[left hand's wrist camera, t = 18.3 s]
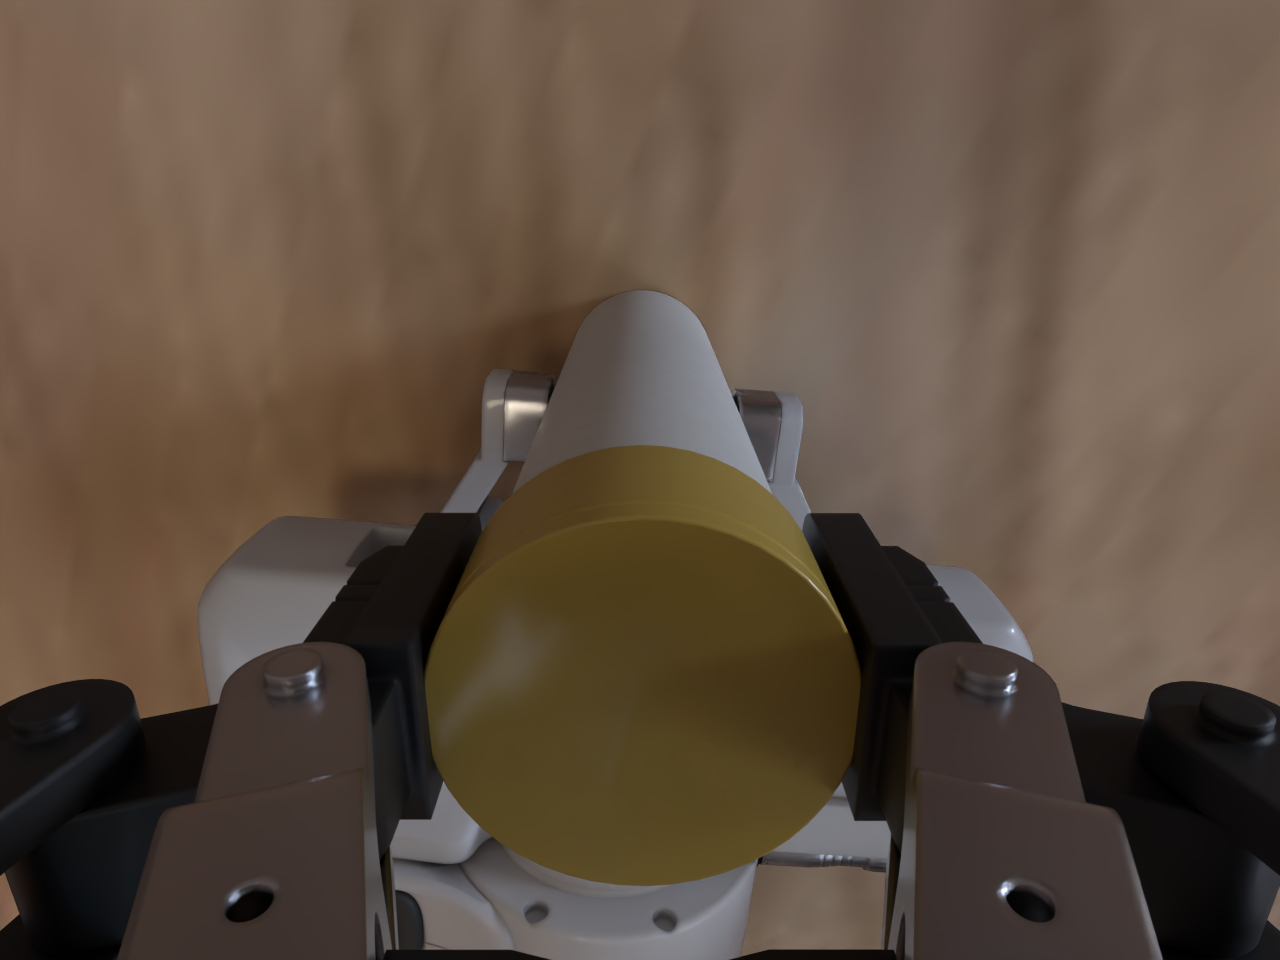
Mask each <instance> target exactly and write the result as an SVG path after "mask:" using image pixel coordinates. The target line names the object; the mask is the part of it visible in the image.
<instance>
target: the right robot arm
mask: <svg viewBox="0 0 1280 960" xmlns="http://www.w3.org/2000/svg"><path fill="white" fill-rule="evenodd" d="M554 388H555V375H554V374H545V373H535V372H525V371H515V370H508V369H493V370H492V371H491V372H490V374H489V375H488V376H487V378H486V379H485V384H484V390H483V397H482V432H481V449H480V450H479V452H478V454H477V455H476V457H475V458H474V460H473V461H472V463H471V464H470V466H469V467H468V469H467V470H466V472H465V474H464V475H463V477H462V478H461V480H460V481H459V483H458V484H457V486H456V487H455V489H454V490H453V492H452V494H451V495H450V497H449V499H448V500H447V502H446V504H445V505H444V507H443V509H442V510H441V512H440V513H477V514H478V515H479V517H480V521H481V526H482V531H483V530H484V528H485V527H486V525H487V524H488V522H489V520H490V519H491V517H492V516H493V515H494V514H495V512H496V511H497V510H498V509H499V508H500V507H501V505H502V504H503V503H504V501H503V500H502V499H501V498H494V497H487V495H488V494H489V492H490V491H491V489H492V488H493V486H494V485H495V483H496V482H497V480H498V478H499V477H500V475H501V474H502V472H503V471H504V469H505V468H506V466H507V465H508V463H509V461H517V462H525V460H526V458H527V455H528V453H529V450H530V448H531V445H532V443H533V440H534V438H535V435H536V433H537V430H538V428H539V425H540V423H541V421H542V418H543V416H544V413H545V411H546V408H547V406H548V403H549V401H550V398H551V396H552V393H553V391H554ZM732 397H733V400H734V402H735V405H736V407H737V409H738V412H739V414H740V417H741V419H742V422H743V424H744V426H745V429H746V431H747V434H748V436H749V439H750V441H751V443H752V446H753V448H754V451H755V453H756V456H757V458H758V460H759V463H760V465H761V468H762V470H763V473H764V475H765V477H766V480H767V482H768V485H769V487H770V490H771V492H772V494H773V495H774V496H775V497H776V498H777V499H778V501H779V502H780V503H781V504H782V505H783V506H784V507H785V508H786V509H787V511H788V512H789V513H790V514H791V516H792V517H793V519H794V520H795V521H796V523H797V524H798V526H799V527H800V529H801V530H802V528H803V522H804V519H805V516H806V514H807V513H811V512H810V509H809V507H808V504H807V502H806V500H805V497H804V495H803V493H802V490H801V488H800V486H799V483H798V482H797V480H796V478H795V472H796V466H797V460H798V453H799V447H800V441H801V434H802V428H803V407H802V404H801V402H800V401H799V399H798V398H797V397H796V395H795V394H794V393H785V392H774V391H760V390H745V389H734V391H733V393H732ZM486 497H487V498H486ZM415 527H416V525H403V524H390V523H377V522H364V521H351V520H338V519H325V518H313V517H301V516H283V517H279V518H277V519H274V520H272V521H271V522H269V523H268V524H266V525H265V526H264V527H263V528H262V529H260V530H259V531H258V532H257V533H256V534H254V535H253V536H252V537H251V538H250V539H248V540H247V541H246V542H245V543H244V544H242V545H241V546H240V547H239V548H238V549H237V550H236V551H235V552H234V553H233V554H232V555H231V556H230V557H229V558H228V559H227V560H226V561H225V562H224V563H223V564H222V566H221V567H220V568H219V569H218V571H217V572H216V573H215V574H214V576H213V577H212V578H211V580H210V581H209V582H208V584H207V585H206V587H205V589H204V591H203V593H202V596H201V598H200V602H199V607H198V633H199V643H200V651H201V658H202V664H203V671H204V677H205V683H206V688H207V694H208V699H209V704H210V705H214V704H217V703H219V699H220V695H221V691H222V688H223V686H224V683H225V682H226V681H227V679H228V678H229V677H230V676H231V675H232V674H233V673H234V672H235V671H236V670H237V669H238V668H240V667H241V666H242V665H244V664H245V663H247V662H248V661H250V660H252V659H253V658H255V657H258V656H260V655H262V654H264V653H267V652H269V651H272V650H275V649H278V648H281V647H285V646H289V645H294V644H299V643H303V642H304V640H305V639H306V637H307V636H308V635H309V633H310V632H311V630H312V629H313V628H314V626H315V625H316V623H317V622H318V621H319V619H320V618H321V617H322V615H323V614H324V612H325V611H326V610H327V608H328V607H329V605H330V604H331V603H332V601H335V597H336V596H337V594H338V593H339V591H340V590H341V589H342V587H343V586H344V585H347V580H348V579H349V578H350V576H351V575H352V573H353V572H354V571H355V569H356V568H357V566H358V565H359V564H360V562H362V561H363V560H365V559H366V558H368V557H370V556H371V555H373V554H374V553H376V552H378V551H379V550H381V549H382V548H384V547H386V546H404V545H405V543H406V542H407V540H408V538H409V537H410V535H411V534H412V532H413V531H414V529H415ZM926 566H927V567H928V569H929V570H930V571H931V573H932V574H933V575H934V577H935V578H936V580H937V581H938V586H942V588H943V589H944V591H945V592H946V593H947V595H948V596H949V597H950V602H953V603H954V604H955V606H956V607H957V608H958V610H959V611H960V612H961V614H962V615H963V617H964V618H965V619H966V621H967V622H968V623H969V625H970V626H971V628H972V629H973V630H974V632H975V633H976V634H977V636H978V637H979V639H980V640H981V641H982V643H983V644H986V645H991V646H995V647H999V648H1002V649H1005V650H1008V651H1011V652H1013V653H1016V654H1018V655H1020V656H1022V657H1024V658H1027V659H1028V660H1030V661H1032V662H1033V656H1032V651H1031V649H1030V646H1029V644H1028V641H1027V640H1026V638H1025V636H1024V634H1023V632H1022V631H1021V629H1020V627H1019V626H1018V624H1017V623H1016V621H1015V620H1014V619H1013V617H1012V616H1011V614H1010V613H1009V611H1008V610H1007V609H1006V608H1005V606H1004V605H1003V604H1002V603H1001V601H1000V600H999V599H998V598H997V597H996V596H995V595H994V594H993V593H992V591H991V590H990V589H989V588H988V587H987V586H986V585H985V584H984V583H983V582H982V581H981V580H980V579H979V578H978V577H977V576H976V575H975V574H974V573H972V572H971V571H969V570H967V569H964V568H959V567H953V566H940V565H927V564H926ZM890 837H891V832H890V830H889V827H888V824H887V822H886V821H854V818H853V815H852V812H851V809H850V806H849V803H848V800H847V797H846V794H845V791H844V788H843V785H842V782H841V783H840V785H839V787H838V788H837V790H836V791H835V792H834V794H833V795H832V797H831V798H830V799H829V801H828V802H827V804H826V805H825V806H824V807H823V808H822V809H821V810H820V812H819V813H818V814H817V815H816V816H815V817H814V818H813V819H812V820H811V821H810V822H809V823H808V824H807V825H806V826H805V827H804V828H802V829H801V830H800V831H799V832H798V833H797V834H795V835H794V836H793V837H792V838H791V839H789V840H788V841H786V842H785V843H783V844H782V845H780V846H779V847H777V848H776V849H774V850H773V851H771V852H770V853H768V854H766V855H764V856H762V857H760V858H758V859H756V860H754V861H752V862H750V863H748V864H746V865H744V866H741V867H739V868H736V869H733V870H731V871H728V872H725V873H723V874H719V875H716V876H712V877H708V878H704V879H701V880H697V881H691V882H684V883H678V884H672V885H656V886H628V885H614V884H607V883H600V882H593V881H589V880H585V879H581V878H577V877H573V876H568V875H565V874H563V873H560V872H557V871H554V870H551V869H549V868H546V867H543V866H541V865H539V864H537V863H535V862H533V861H531V860H529V859H527V858H525V857H522V856H520V855H519V854H517V853H516V852H514V851H512V850H511V849H509V848H508V847H506V846H505V845H503V844H501V843H500V842H498V841H497V840H496V839H495V838H493V837H492V836H491V835H490V834H488V833H487V832H486V831H485V830H483V829H482V828H481V827H480V826H479V825H478V824H477V823H476V822H475V821H474V820H473V819H472V818H471V817H470V816H469V815H468V814H467V813H466V812H465V811H464V810H463V809H462V807H461V806H460V805H459V803H458V802H457V801H456V799H455V798H454V797H453V795H452V794H451V793H450V791H449V790H448V788H447V787H446V785H445V783H444V781H443V784H442V788H441V791H440V794H439V797H438V800H437V803H436V806H435V809H434V812H433V816H432V819H431V820H400V821H399V823H398V826H397V829H396V831H395V834H394V837H393V839H392V842H391V844H390V845H391V852H392V859H393V866H394V881H395V897H396V912H397V928H398V943H399V950H514V951H518V952H522V953H526V954H530V955H534V956H538V957H542V958H546V959H550V960H730V959H734V958H738V957H741V952H742V947H743V941H744V936H745V930H746V924H747V918H748V913H749V906H750V900H751V895H752V890H753V884H754V879H755V873H756V867H757V866H758V864H761V865H765V864H767V865H778V866H793V867H820V866H821V867H829V866H839V865H840V866H848V865H849V866H850V867H862V868H863V869H864V870H868V871H873V872H886V866H887V859H888V852H889V844H890Z"/></svg>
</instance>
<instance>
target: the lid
mask: <svg viewBox="0 0 1280 960" xmlns="http://www.w3.org/2000/svg"><path fill="white" fill-rule="evenodd" d="M424 681H425V692H426V701H427V710H428V719H429V728H430V738H431V747H432V754H433V760H434V763H435V766H436V768H437V770H438V772H439V774H440V776H441V777H442V779H443V781H444V783H445V785H446V787H447V788H448V790H449V791H450V793H451V794H452V795H453V797H454V798H455V799H456V801H457V802H458V803H459V805H460V806H461V807H462V809H463V810H464V811H465V812H466V813H467V814H468V815H469V816H470V817H471V818H472V819H473V820H474V821H475V822H476V823H477V824H478V825H479V826H480V827H481V828H482V829H483V830H485V831H486V832H487V833H488V834H490V835H491V836H492V837H493V838H495V839H496V840H497V841H498V842H500V843H501V844H503V845H505V846H506V847H508V848H509V849H511V850H512V851H514V852H516V853H517V854H519V855H520V856H522V857H525V858H527V859H529V860H531V861H533V862H535V863H537V864H539V865H541V866H543V867H546V868H549V869H551V870H554V871H557V872H560V873H563V874H565V875H568V876H573V877H577V878H581V879H585V880H589V881H593V882H600V883H607V884H614V885H628V886H656V885H672V884H678V883H684V882H691V881H697V880H701V879H704V878H708V877H712V876H716V875H719V874H723V873H725V872H728V871H731V870H733V869H736V868H739V867H741V866H744V865H746V864H748V863H750V862H752V861H754V860H756V859H758V858H760V857H762V856H764V855H766V854H768V853H770V852H771V851H773V850H774V849H776V848H777V847H779V846H780V845H782V844H783V843H785V842H786V841H788V840H789V839H791V838H792V837H793V836H794V835H795V834H797V833H798V832H799V831H800V830H801V829H802V828H804V827H805V826H806V825H807V824H808V823H809V822H810V821H811V820H812V819H813V818H814V817H815V816H816V815H817V814H818V813H819V812H820V810H821V809H822V808H823V807H824V806H825V805H826V804H827V802H828V801H829V799H830V798H831V797H832V795H833V794H834V792H835V791H836V790H837V788H838V787H839V785H840V783H841V782H842V780H843V778H844V776H845V774H846V772H847V770H848V768H849V766H850V764H851V761H852V756H853V749H854V740H855V732H856V723H857V714H858V705H859V696H860V687H861V667H860V663H859V660H858V657H857V653H856V650H855V647H854V643H853V641H852V639H851V636H850V634H849V632H848V630H847V628H846V626H845V623H844V621H843V619H842V617H841V614H840V612H839V610H838V608H837V606H836V603H835V601H834V599H833V597H832V595H831V592H830V590H829V588H828V586H827V584H826V581H825V579H824V577H823V575H822V573H821V570H820V568H819V566H818V564H817V562H816V559H815V557H814V555H813V553H812V551H811V549H810V547H809V544H808V542H807V540H806V538H805V536H804V534H803V532H802V530H801V529H800V527H799V526H798V524H797V523H796V521H795V520H794V519H793V517H792V516H791V514H790V513H789V512H788V511H787V509H786V508H785V507H784V506H783V505H782V504H781V503H780V502H779V501H778V499H777V498H776V497H775V496H774V495H773V494H771V493H770V492H769V491H768V490H767V489H765V488H764V487H763V486H762V485H761V484H759V483H758V482H757V481H756V480H754V479H752V478H751V477H749V476H748V475H746V474H744V473H743V472H741V471H740V470H738V469H736V468H734V467H732V466H730V465H728V464H726V463H723V462H721V461H719V460H717V459H715V458H712V457H709V456H706V455H702V454H699V453H696V452H693V451H689V450H683V449H678V448H672V447H666V446H649V445H633V446H620V447H612V448H607V449H602V450H597V451H592V452H588V453H585V454H582V455H579V456H576V457H573V458H570V459H567V460H565V461H563V462H561V463H559V464H557V465H555V466H553V467H551V468H549V469H547V470H545V471H543V472H541V473H540V474H538V475H537V476H535V477H534V478H532V479H531V480H529V481H528V482H526V483H525V484H524V485H522V486H521V487H520V488H519V489H518V490H517V491H516V492H515V493H513V494H512V495H511V496H510V497H509V498H508V499H507V500H506V501H505V502H504V503H503V504H502V505H501V507H500V508H499V509H498V510H497V511H496V512H495V514H494V515H493V516H492V517H491V519H490V520H489V522H488V524H487V525H486V527H485V528H484V530H483V531H482V533H481V535H480V536H479V539H478V541H477V543H476V545H475V548H474V550H473V552H472V554H471V557H470V559H469V561H468V563H467V566H466V568H465V570H464V572H463V575H462V577H461V579H460V581H459V584H458V586H457V588H456V590H455V593H454V595H453V597H452V599H451V602H450V604H449V606H448V608H447V611H446V613H445V615H444V617H443V620H442V622H441V624H440V626H439V629H438V631H437V633H436V635H435V638H434V640H433V642H432V644H431V647H430V650H429V654H428V657H427V661H426V665H425V669H424Z"/></svg>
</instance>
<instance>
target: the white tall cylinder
mask: <svg viewBox="0 0 1280 960" xmlns="http://www.w3.org/2000/svg"><path fill="white" fill-rule="evenodd" d="M633 445H649V446H666V447H672V448H678V449H683V450H689V451H693V452H696V453H699V454H702V455H706V456H709V457H712V458H715V459H717V460H719V461H721V462H723V463H726V464H728V465H730V466H732V467H734V468H736V469H738V470H740V471H741V472H743V473H744V474H746V475H748V476H749V477H751V478H752V479H754V480H756V481H757V482H758V483H759V484H761V485H762V486H763V487H764V488H765V489H767V490H768V491H769V492H770V493H771V494H772V492H771V490H770V487H769V485H768V482H767V480H766V477H765V475H764V473H763V470H762V468H761V465H760V463H759V460H758V458H757V456H756V453H755V451H754V448H753V446H752V443H751V441H750V439H749V436H748V434H747V431H746V429H745V426H744V424H743V422H742V419H741V417H740V414H739V412H738V409H737V407H736V405H735V402H734V400H733V397H732V395H731V392H730V390H729V388H728V385H727V383H726V380H725V378H724V375H723V373H722V371H721V368H720V366H719V363H718V361H717V358H716V356H715V354H714V351H713V349H712V346H711V344H710V341H709V339H708V337H707V334H706V332H705V330H704V328H703V326H702V324H701V322H700V321H699V320H698V318H697V317H696V316H695V314H694V313H693V312H692V311H691V310H690V309H689V308H688V307H686V306H685V305H684V304H683V303H681V302H680V301H678V300H676V299H675V298H673V297H670V296H668V295H666V294H663V293H659V292H655V291H648V290H635V291H628V292H624V293H620V294H617V295H615V296H612V297H610V298H608V299H607V300H605V301H603V302H602V303H600V304H599V305H598V306H596V307H595V308H594V309H593V310H592V311H591V312H590V313H589V314H588V315H587V317H586V318H585V319H584V321H583V322H582V324H581V326H580V327H579V329H578V331H577V334H576V336H575V339H574V341H573V344H572V346H571V349H570V351H569V354H568V356H567V359H566V361H565V364H564V366H563V369H562V371H561V374H560V376H559V378H558V381H557V383H556V386H555V388H554V391H553V393H552V396H551V398H550V401H549V403H548V406H547V408H546V411H545V413H544V416H543V418H542V421H541V423H540V425H539V428H538V430H537V433H536V435H535V438H534V440H533V443H532V445H531V448H530V450H529V453H528V455H527V458H526V460H525V463H524V465H523V468H522V470H521V473H520V475H519V477H518V480H517V482H516V485H515V487H514V490H513V492H512V494H513V493H515V492H516V491H517V490H518V489H519V488H520V487H521V486H522V485H524V484H525V483H526V482H528V481H529V480H531V479H532V478H534V477H535V476H537V475H538V474H540V473H541V472H543V471H545V470H547V469H549V468H551V467H553V466H555V465H557V464H559V463H561V462H563V461H565V460H567V459H570V458H573V457H576V456H579V455H582V454H585V453H588V452H592V451H597V450H602V449H607V448H612V447H620V446H633Z"/></svg>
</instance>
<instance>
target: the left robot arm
mask: <svg viewBox="0 0 1280 960" xmlns="http://www.w3.org/2000/svg"><path fill="white" fill-rule="evenodd" d="M802 532H803V534H804V536H805V538H806V540H807V542H808V544H809V547H810V549H811V551H812V553H813V555H814V557H815V559H816V562H817V564H818V566H819V568H820V570H821V573H822V575H823V577H824V579H825V581H826V584H827V586H828V588H829V590H830V592H831V595H832V597H833V599H834V601H835V603H836V606H837V608H838V610H839V612H840V614H841V617H842V619H843V621H844V623H845V626H846V628H847V630H848V632H849V634H850V636H851V639H852V641H853V643H854V647H855V650H856V653H857V657H858V660H859V663H860V667H861V687H860V696H859V705H858V714H857V723H856V732H855V740H854V749H853V756H852V761H851V764H850V766H849V768H848V770H847V772H846V774H845V776H844V778H843V780H842V785H843V788H844V791H845V794H846V797H847V800H848V803H849V806H850V809H851V812H852V815H853V818H854V821H886V822H887V824H888V827H889V830H890V832H891V837H890V844H889V852H888V859H887V866H886V881H885V897H884V912H883V927H882V943H881V950H766V951H762V952H758V953H754V954H750V955H746V956H742V957H738V958H734V959H730V960H1280V931H1279V930H1278V929H1277V928H1276V927H1275V926H1273V925H1272V924H1271V923H1270V922H1269V921H1268V920H1267V919H1268V916H1269V914H1270V911H1271V908H1272V905H1273V903H1274V900H1275V897H1276V895H1277V892H1278V889H1279V886H1280V706H1278V705H1276V704H1274V703H1272V702H1270V701H1267V700H1265V699H1263V698H1261V697H1258V696H1255V695H1253V694H1250V693H1247V692H1244V691H1241V690H1238V689H1235V688H1231V687H1227V686H1223V685H1218V684H1212V683H1206V682H1196V681H1180V682H1171V683H1168V684H1164V685H1161V686H1160V687H1158V688H1156V689H1155V690H1154V691H1153V692H1152V693H1151V695H1150V698H1149V701H1148V705H1147V708H1146V712H1145V716H1144V720H1143V719H1138V718H1133V717H1127V716H1122V715H1117V714H1112V713H1106V712H1101V711H1096V710H1090V709H1085V708H1081V707H1077V706H1072V705H1069V704H1066V703H1062V702H1061V699H1060V695H1059V691H1058V688H1057V686H1056V684H1055V682H1054V681H1053V679H1052V678H1051V677H1050V676H1049V675H1048V674H1047V673H1046V672H1045V671H1044V670H1043V669H1042V668H1040V667H1039V666H1038V665H1036V664H1035V663H1033V662H1032V661H1030V660H1028V659H1027V658H1024V657H1022V656H1020V655H1018V654H1016V653H1013V652H1011V651H1008V650H1005V649H1002V648H999V647H995V646H991V645H986V644H983V643H982V641H981V640H980V639H979V637H978V636H977V634H976V633H975V632H974V630H973V629H972V628H971V626H970V625H969V623H968V622H967V621H966V619H965V618H964V617H963V615H962V614H961V612H960V611H959V610H958V608H957V607H956V606H955V604H954V603H953V602H950V597H949V596H948V595H947V593H946V592H945V591H944V589H943V588H942V586H938V581H937V580H936V578H935V577H934V575H933V574H932V573H931V571H930V570H929V569H928V567H927V566H926V564H925V563H924V562H922V561H921V560H919V559H917V558H916V557H914V556H913V555H911V554H909V553H908V552H906V551H904V550H903V549H901V548H900V547H898V546H881V545H880V544H879V542H878V541H877V539H876V538H875V536H874V535H873V533H872V532H871V530H870V528H869V527H868V525H867V524H866V522H865V521H864V519H863V518H862V516H861V515H860V514H859V513H807V514H806V516H805V519H804V522H803V528H802ZM481 533H482V526H481V521H480V517H479V515H478V514H477V513H425V514H424V515H423V516H422V518H421V519H420V521H419V523H418V524H417V526H416V527H415V529H414V531H413V532H412V534H411V535H410V537H409V538H408V540H407V542H406V543H405V545H404V546H386V547H384V548H382V549H381V550H379V551H378V552H376V553H374V554H373V555H371V556H370V557H368V558H366V559H365V560H363V561H362V562H360V564H359V565H358V566H357V568H356V569H355V571H354V572H353V573H352V575H351V576H350V578H349V579H348V580H347V585H344V586H343V587H342V589H341V590H340V591H339V593H338V594H337V596H336V597H335V601H332V603H331V604H330V605H329V607H328V608H327V610H326V611H325V612H324V614H323V615H322V617H321V618H320V619H319V621H318V622H317V623H316V625H315V626H314V628H313V629H312V630H311V632H310V633H309V635H308V636H307V637H306V639H305V640H304V642H303V643H299V644H294V645H289V646H285V647H281V648H278V649H275V650H272V651H269V652H267V653H264V654H262V655H260V656H258V657H255V658H253V659H252V660H250V661H248V662H247V663H245V664H244V665H242V666H241V667H240V668H238V669H237V670H236V671H235V672H234V673H233V674H232V675H231V676H230V677H229V678H228V679H227V681H226V682H225V683H224V686H223V688H222V691H221V695H220V699H219V703H217V704H214V705H209V706H205V707H201V708H195V709H190V710H185V711H180V712H174V713H169V714H164V715H159V716H153V717H148V718H143V719H140V717H139V713H138V709H137V705H136V702H135V698H134V695H133V692H132V690H131V689H130V688H129V687H128V686H126V685H124V684H122V683H120V682H116V681H112V680H105V679H86V680H76V681H70V682H65V683H60V684H56V685H52V686H48V687H45V688H42V689H39V690H36V691H33V692H30V693H28V694H25V695H23V696H20V697H18V698H16V699H14V700H11V701H9V702H7V703H5V704H4V705H2V706H0V875H2V874H3V873H4V872H5V875H6V878H7V880H8V883H9V886H10V889H11V891H12V894H13V897H14V900H15V902H16V905H17V908H18V911H19V913H20V914H19V915H18V916H17V917H16V918H15V919H14V920H12V921H11V922H10V923H9V924H8V925H7V926H5V927H4V928H3V929H2V930H1V931H0V960H550V959H546V958H542V957H538V956H534V955H530V954H526V953H522V952H518V951H514V950H399V943H398V928H397V912H396V897H395V881H394V866H393V859H392V852H391V845H390V844H391V842H392V839H393V837H394V834H395V831H396V829H397V826H398V823H399V821H400V820H431V819H432V816H433V812H434V809H435V806H436V803H437V800H438V797H439V794H440V791H441V788H442V784H443V779H442V777H441V776H440V774H439V772H438V770H437V768H436V766H435V763H434V760H433V754H432V747H431V738H430V728H429V719H428V710H427V701H426V692H425V681H424V669H425V665H426V661H427V657H428V654H429V650H430V647H431V644H432V642H433V640H434V638H435V635H436V633H437V631H438V629H439V626H440V624H441V622H442V620H443V617H444V615H445V613H446V611H447V608H448V606H449V604H450V602H451V599H452V597H453V595H454V593H455V590H456V588H457V586H458V584H459V581H460V579H461V577H462V575H463V572H464V570H465V568H466V566H467V563H468V561H469V559H470V557H471V554H472V552H473V550H474V548H475V545H476V543H477V541H478V539H479V536H480V535H481Z"/></svg>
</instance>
